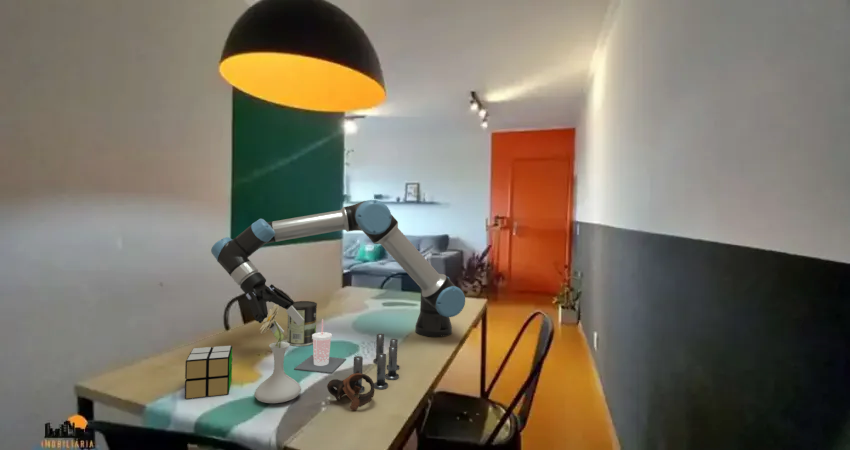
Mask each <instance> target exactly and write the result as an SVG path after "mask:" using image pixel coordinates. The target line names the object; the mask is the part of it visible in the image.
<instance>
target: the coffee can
mask: <svg viewBox="0 0 850 450" xmlns="http://www.w3.org/2000/svg"><path fill="white" fill-rule="evenodd" d="M292 306H293V307H294V308H295V309H296V310H297V312H298V313H299V314H300V315H301V316H302V317H303V319H304V321H303V322H302V323H301V324H300V325H297V324H296V323H295V321H294V320H293V319H292V318H291V317H290V316H289V314H288V313H287V335H286V336H287V339H286V342H287V343H289V344H290V345H289V346H292V347H307V346H310V345H311V346H312V345H313V339H312V335H313V334H314V333H317V307H318V303H317V302H315V301H312V300H311V301H309V300H301V301H294V304H293V305H292Z"/></svg>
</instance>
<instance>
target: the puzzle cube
mask: <svg viewBox="0 0 850 450" xmlns="http://www.w3.org/2000/svg"><path fill="white" fill-rule="evenodd" d="M184 369H185V373H184V374H185V375H184V377H185V378H184V379H185V381H184V399H186V400H191V399H192V398H193V399H199V398H206V397H208V398H211V397H218V396H220V397H221V396H227V395H229V394H230V390H231V385H232V380H233V379H232V377H233V346H232V345H220V346H219V345H217V346H213V347H212V346H206V347H205V346H204V347H193V348H192V349H191V351H190V352H189V355H188V356H187V358H186V360H185V368H184ZM193 399H192V400H193Z"/></svg>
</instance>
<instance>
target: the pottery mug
mask: <svg viewBox="0 0 850 450" xmlns="http://www.w3.org/2000/svg"><path fill="white" fill-rule="evenodd" d="M361 378H362V380H364V381H365V382H366V383H368V384H369V385H370V389H369V391H367V392H365V393H359V391H360V389H361V388H360V387H357V386H355V382H356V381H357V380H360V379H361ZM374 383H375V382H374V381H373V379H372V378H371V377H370V376H369V375H367V374H365V373H362V374H361V373H355V374H353V373H352V374H350V375H349V376H348V377H346V378H345V379H342V380H340V379H337V378H335V379H334V378H333V379H331V380H330V381H328V383H327V385H326V388H327V391H328V393H329V394H330V395H331V396H333V397H334V398H335V400H336V401H340V399H342V397H344V396H345V395H346V396H347V397H348V399H349V400H351V404H350V405H349V409H350V410H351V411H357V410H358V409H359V408H361V407H363V406H365V405H367V404H368V403H370V402H371V401H372V399H373V397H374V396H375V388H374ZM356 395H358V396H356Z"/></svg>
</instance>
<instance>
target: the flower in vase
mask: <svg viewBox="0 0 850 450" xmlns="http://www.w3.org/2000/svg"><path fill="white" fill-rule="evenodd" d="M279 310H280V306H279V305H278V304H273V306H272V308H270V309H269V310H268V315H267V318H265V319H264V320H263V322H262V323H263V324H262V326H261V327H260V328H259V331H260V334H261V335H262V334H266V332H268V330H270V329H269V328H270V326H271V325H272V324H273V322H274V323H275V325H276V326H277V330H276V331H275V333H273V337H274V338H275V339H276V340H277V342H272V343H270V344H268V347H269V349H270V350H271V351H272V355H273V361H274V362H273V363H274V365H273V372H272V374H271V375H270V376H269V377H268V378H266V379H265V380H264V381H262V382H261V383H260V384H259V385H258V386H257V387H256V388H255V391H254V393H253V395H254V397H255V398H256V400H257V401H259V402H261V403H266V404H281V403H285V402H288V401H291V400H293V399H295V398H297V397H298V396H299V395H300V393H301V391H302V388H301V385H300V383H299V382H297V380H295V379H294V378H293V377H290V376H289V375H287V373H286V372H285V369H284V362H285V361H284V360H285V355H286V351H287V349H288V348H289V346H291V345H290V344H289V343H287V341H286V342H285V341H283V339H284V338H285V335H284V334H283V333H281V331H280V329H279V327H278V325H277V323H278V322H277V321H276V318H277V315H278V313H279ZM264 322H265V323H264ZM276 322H277V323H276Z"/></svg>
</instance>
